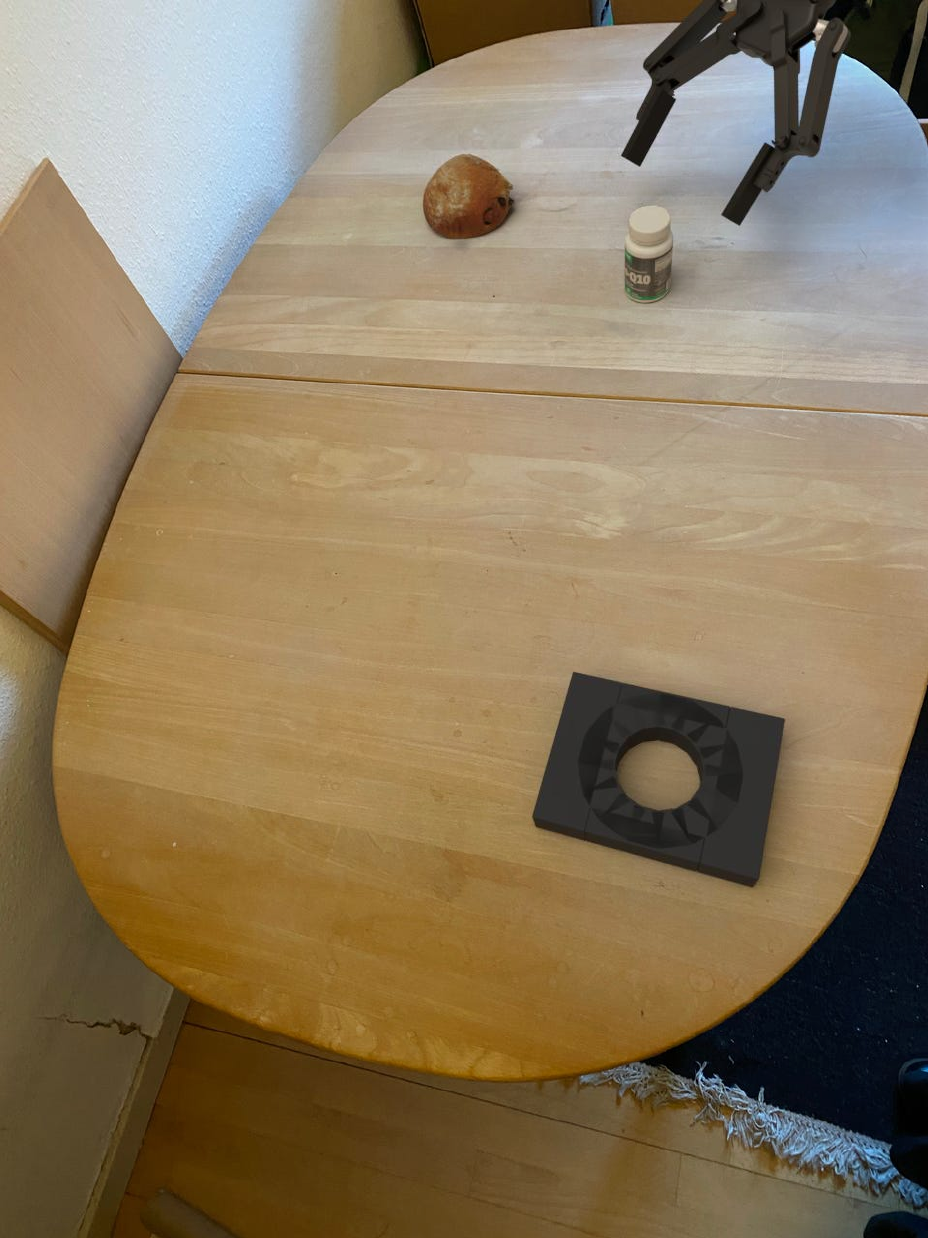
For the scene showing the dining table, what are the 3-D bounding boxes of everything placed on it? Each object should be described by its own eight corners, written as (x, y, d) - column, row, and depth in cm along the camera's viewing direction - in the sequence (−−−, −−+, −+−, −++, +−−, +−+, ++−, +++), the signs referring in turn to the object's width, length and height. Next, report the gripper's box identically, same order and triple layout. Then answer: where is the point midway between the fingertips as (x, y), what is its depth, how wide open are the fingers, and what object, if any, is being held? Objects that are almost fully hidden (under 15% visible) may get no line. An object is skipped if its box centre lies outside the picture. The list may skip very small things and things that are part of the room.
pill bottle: (615, 288, 89) (614, 218, 81) (650, 266, 89) (653, 194, 82) (643, 311, 87) (645, 241, 79) (679, 288, 87) (685, 217, 80)
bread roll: (465, 209, 105) (429, 152, 99) (532, 183, 98) (496, 121, 93) (436, 263, 101) (396, 206, 96) (503, 240, 94) (464, 178, 89)
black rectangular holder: (778, 732, 64) (785, 718, 61) (752, 888, 59) (758, 879, 56) (575, 686, 68) (573, 671, 66) (535, 827, 63) (531, 816, 61)
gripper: (961, 3, 67) (793, 257, 78) (732, -81, 79) (612, 150, 89) (937, -43, 61) (759, 237, 72) (694, -126, 73) (572, 126, 84)
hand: (678, 190), depth 81 cm, fingers open, 13 cm apart
